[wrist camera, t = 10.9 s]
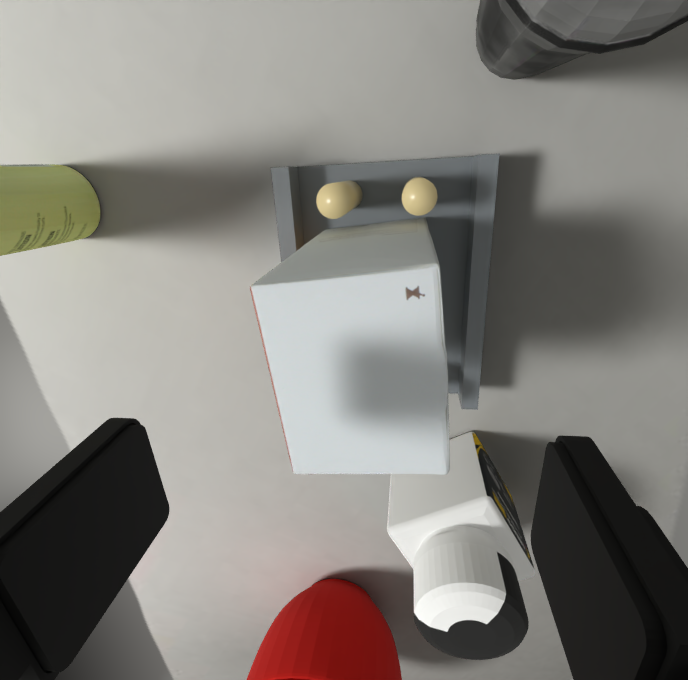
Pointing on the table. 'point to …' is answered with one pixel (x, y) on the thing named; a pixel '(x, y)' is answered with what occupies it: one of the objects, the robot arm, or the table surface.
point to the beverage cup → (566, 30)
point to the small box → (359, 351)
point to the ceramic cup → (328, 638)
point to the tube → (44, 207)
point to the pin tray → (402, 204)
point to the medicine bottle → (463, 553)
